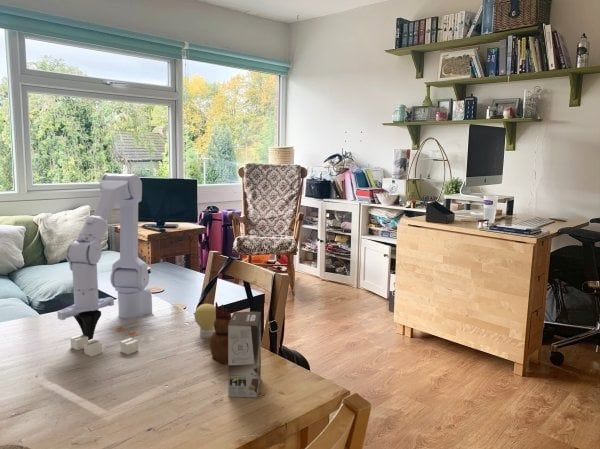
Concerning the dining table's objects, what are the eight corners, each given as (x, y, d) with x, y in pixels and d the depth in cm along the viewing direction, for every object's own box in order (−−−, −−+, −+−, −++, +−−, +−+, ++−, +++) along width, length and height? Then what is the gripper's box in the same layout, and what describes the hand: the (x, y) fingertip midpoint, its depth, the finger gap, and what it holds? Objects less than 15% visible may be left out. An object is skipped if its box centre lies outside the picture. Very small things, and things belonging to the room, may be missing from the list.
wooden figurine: (205, 362, 122) (204, 303, 120) (220, 353, 128) (219, 297, 125) (228, 368, 119) (227, 308, 117) (242, 359, 124) (241, 301, 122)
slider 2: (130, 347, 127) (130, 337, 127) (138, 350, 126) (137, 340, 125) (120, 351, 125) (120, 341, 124) (128, 354, 123) (127, 344, 123)
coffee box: (257, 398, 106) (257, 325, 103) (227, 397, 106) (226, 325, 103) (261, 378, 115) (262, 310, 112) (233, 377, 115) (233, 310, 112)
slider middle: (95, 349, 126) (94, 339, 125) (102, 352, 124) (101, 342, 124) (84, 353, 123) (83, 343, 123) (91, 356, 122) (90, 346, 121)
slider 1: (81, 343, 129) (81, 333, 129) (88, 346, 128) (88, 336, 127) (71, 347, 127) (70, 337, 126) (77, 350, 125) (77, 340, 125)
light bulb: (213, 345, 133) (213, 309, 131) (191, 342, 134) (190, 307, 132) (222, 336, 139) (221, 301, 137) (200, 334, 140) (199, 299, 138)
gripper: (67, 297, 119) (70, 351, 121) (120, 284, 130) (122, 333, 133) (51, 292, 122) (54, 344, 125) (103, 279, 134) (106, 327, 137)
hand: (88, 338), depth 129 cm, fingers closed
